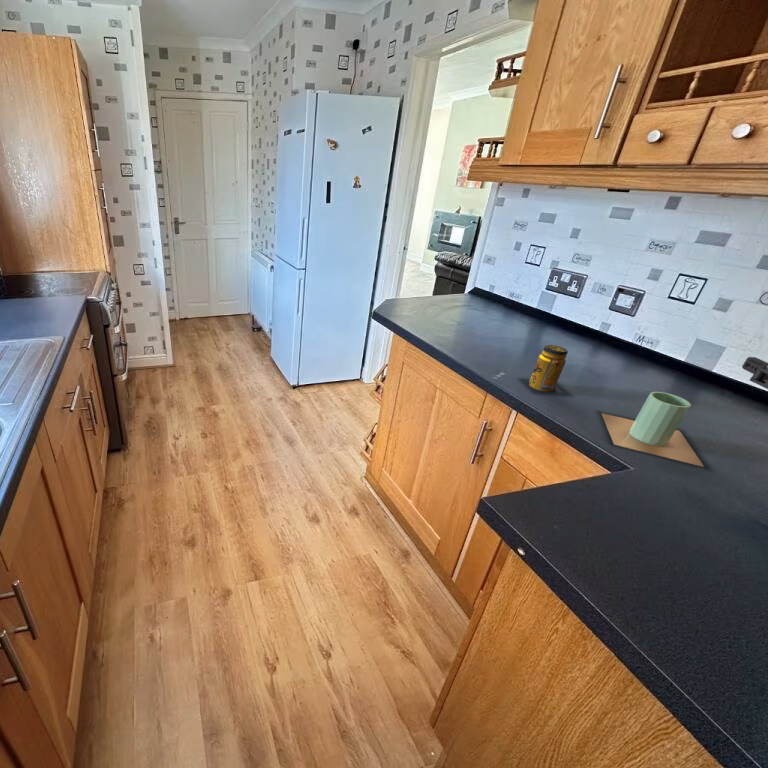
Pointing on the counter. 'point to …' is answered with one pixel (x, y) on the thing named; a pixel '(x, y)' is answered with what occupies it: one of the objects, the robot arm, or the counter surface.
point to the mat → (673, 449)
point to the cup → (659, 418)
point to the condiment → (548, 368)
